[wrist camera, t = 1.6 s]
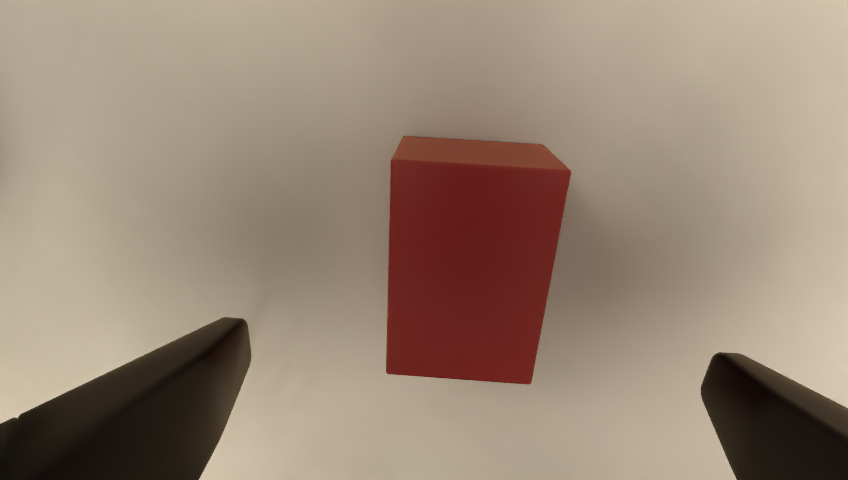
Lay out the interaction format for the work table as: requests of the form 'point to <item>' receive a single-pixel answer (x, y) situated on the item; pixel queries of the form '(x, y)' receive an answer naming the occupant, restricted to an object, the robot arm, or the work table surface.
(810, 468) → the robot arm
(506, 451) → the work table surface
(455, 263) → the red rectangular block
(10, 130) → the work table surface
